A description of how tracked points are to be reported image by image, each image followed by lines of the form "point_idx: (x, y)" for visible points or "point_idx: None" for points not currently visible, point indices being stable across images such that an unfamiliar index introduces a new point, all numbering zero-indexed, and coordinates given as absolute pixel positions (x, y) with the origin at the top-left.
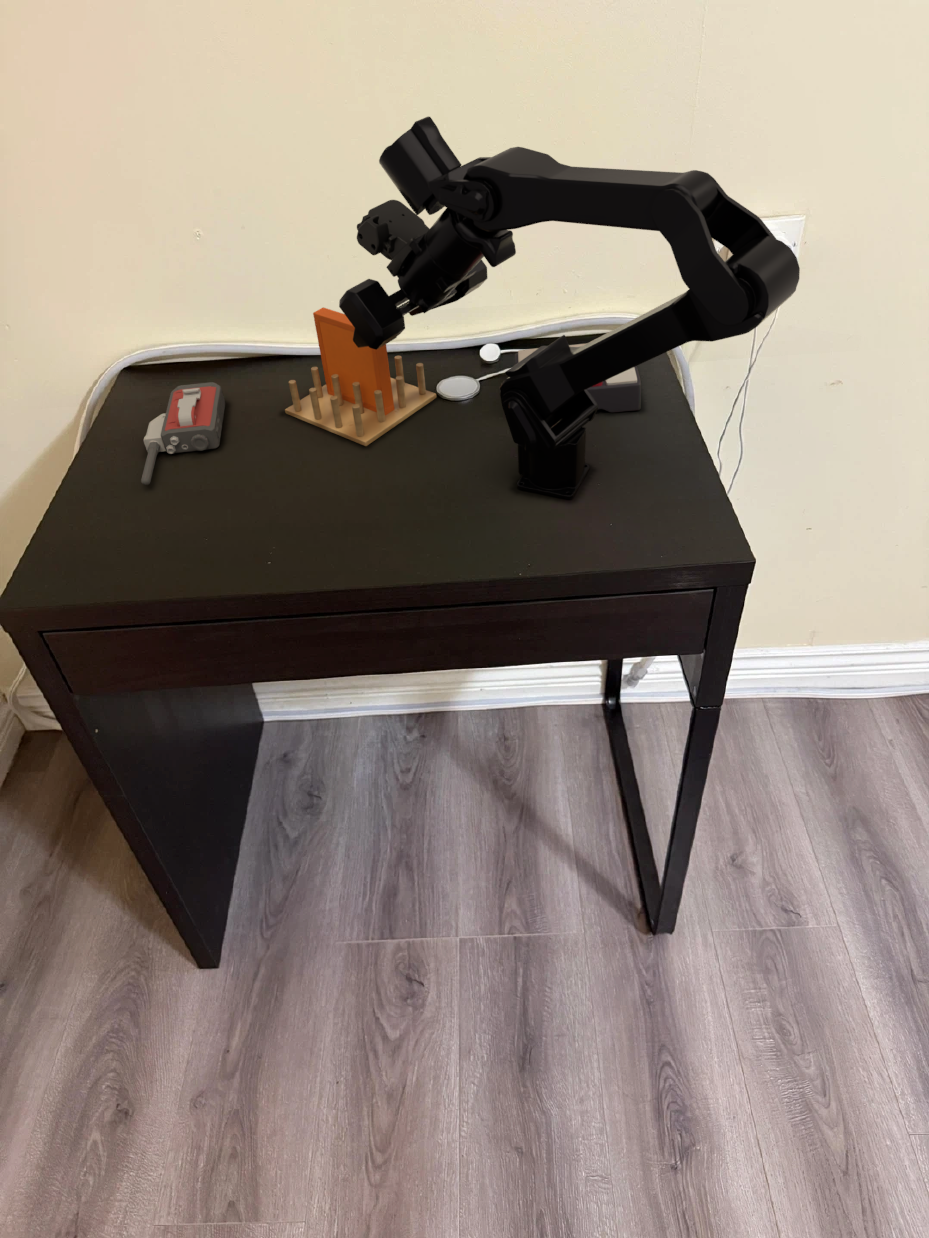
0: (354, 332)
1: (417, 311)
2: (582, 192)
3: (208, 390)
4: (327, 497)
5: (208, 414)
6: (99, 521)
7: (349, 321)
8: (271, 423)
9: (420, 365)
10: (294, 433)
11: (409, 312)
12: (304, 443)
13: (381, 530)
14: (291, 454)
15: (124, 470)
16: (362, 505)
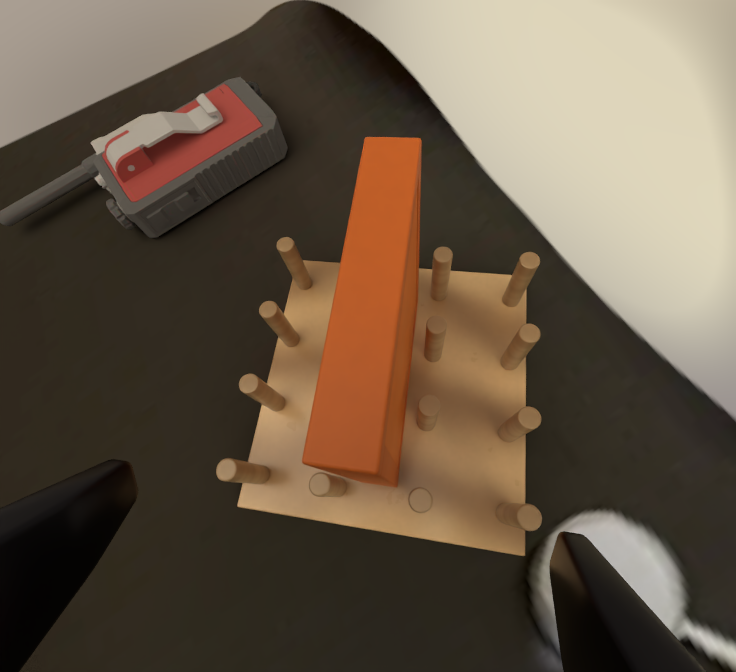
0: (8, 508)
1: (567, 647)
2: None
3: (240, 123)
4: None
5: (165, 176)
6: None
7: (357, 292)
8: (260, 264)
9: (524, 525)
10: (242, 324)
11: (556, 556)
12: (215, 366)
13: None
14: (172, 368)
15: (71, 165)
16: None
